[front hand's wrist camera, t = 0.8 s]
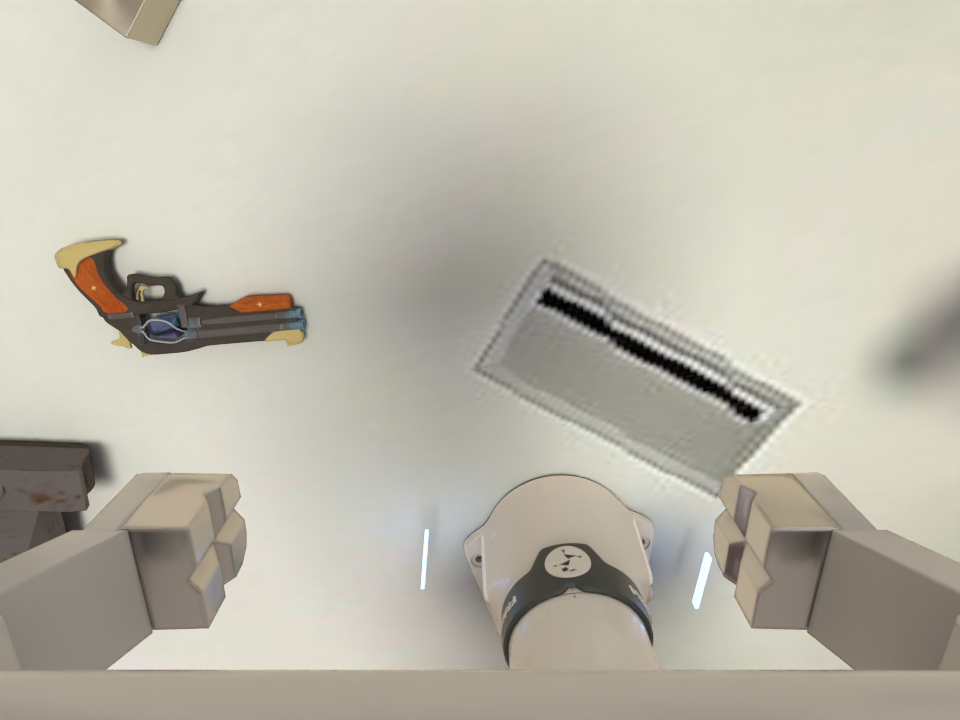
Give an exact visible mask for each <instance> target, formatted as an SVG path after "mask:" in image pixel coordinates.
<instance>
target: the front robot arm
mask: <svg viewBox="0 0 960 720" xmlns="http://www.w3.org/2000/svg"><path fill="white" fill-rule="evenodd" d="M240 497H241V495H240V491H239V486H238V481H237V479H236V478H235V477H234V476H233V475H232V474H200V473H173V474H172V473H142V474H137V475H136V476H135V477H134V478H133V479H132V480H131V481H130V482H129V483H128V484H127V485H126V486H125V487H124V488H123V489H122V490H121V491H120V492H119V493H118V494H117V495H116V496H115V497H114V498H113V499H112V500H111V501H110V502H109V503H108V505H107V506H106V507H105V508H104V509H103V510H102V511H101V512H100V513H99V514H98V515H97V516H96V517H95V518H94V519H93V520H92V521H91V522H90V523H89V524H88V525H87V526H86V527H85V528H84V529H83V530H72V531H70V532H68V533H65V534H63V535H61V536H59V537H56V538H54V539H52V540H50V541H48V542H45V543H43V544H41V545H39V546H37V547H34V548H32V549H30V550H28V551H26V552H23V553H21V554H19V555H17V556H15V557H12V558H10V559H8V560H6V561H4V562H1V563H0V720H960V563H958V562H956V561H954V560H952V559H950V558H947V557H945V556H943V555H941V554H939V553H936V552H934V551H932V550H930V549H928V548H925V547H923V546H921V545H919V544H917V543H914V542H912V541H910V540H908V539H906V538H903V537H901V536H899V535H897V534H895V533H892V532H890V531H888V530H877V529H876V528H875V527H874V526H873V525H872V524H871V523H870V522H869V521H868V520H867V519H866V518H865V517H864V516H863V515H862V514H861V513H860V512H859V511H858V510H857V509H856V508H855V506H854V505H853V504H852V503H851V502H850V501H849V500H848V499H847V498H846V497H845V496H844V495H843V494H842V493H841V492H840V491H839V490H838V489H837V488H836V487H835V486H834V485H833V484H832V483H831V482H830V481H829V480H828V479H827V477H826V476H825V475H822V474H820V473H817V472H812V473H786V474H748V475H725V478H724V480H723V482H722V484H721V490H720V495H719V497H720V499H721V501H722V502H723V504H724V506H725V507H726V509H725V510H724V511H723V512H722V513H721V514H720V516H719V517H718V518H717V519H716V520H715V527H714V535H713V540H714V551H715V556H716V560H717V563H718V566H719V568H720V570H721V572H722V574H723V576H724V577H725V578H727V579H728V580H730V581H731V582H733V583H734V584H736V591H735V596H734V597H735V599H736V601H737V602H738V604H739V606H740V608H741V610H742V612H743V614H744V615H745V617H746V619H747V621H748V623H749V625H750V627H751V628H761V629H798V630H808V631H807V632H808V633H809V634H810V635H811V636H813V637H814V638H815V639H816V640H818V641H819V642H820V643H821V644H823V645H824V646H825V647H826V648H828V649H829V650H830V651H831V652H833V653H834V654H835V655H836V656H838V657H839V658H840V659H841V660H843V661H844V662H845V663H847V664H848V665H849V666H850V667H852V668H853V669H854V670H661V669H660V667H659V664H658V661H657V659H656V656H655V653H654V651H653V632H652V628H651V624H652V618H651V611H650V608H649V606H648V605H646V603H649V602H652V601H653V590H652V588H651V587H649V585H651V584H652V583H653V577H652V573H651V569H650V566H649V560H650V555H651V550H652V545H653V540H654V535H655V531H654V527H653V523H652V522H651V521H650V520H649V519H648V518H646V517H644V516H642V515H640V514H638V513H636V512H633V511H631V510H629V509H628V508H626V507H625V506H624V505H623V504H622V503H621V502H620V501H619V500H618V498H617V497H616V496H615V495H614V494H613V493H611V492H610V491H609V490H607V489H606V488H605V487H603V486H601V485H599V484H597V483H595V482H593V481H590V480H588V479H584V478H580V477H575V476H564V475H558V476H548V477H543V478H539V479H535V480H532V481H529V482H527V483H525V484H523V485H521V486H519V487H517V488H516V489H514V490H513V491H511V492H510V493H509V494H507V495H506V496H505V497H504V498H503V499H502V500H501V501H500V502H499V503H498V505H497V506H496V507H495V509H494V510H493V512H492V514H491V516H490V517H489V519H488V520H487V522H486V523H485V524H484V526H482V527H481V528H479V529H478V530H476V531H475V532H474V533H472V534H471V535H470V536H469V537H468V538H467V539H466V540H465V542H464V552H465V556H466V558H467V561H468V563H469V565H470V568H471V570H472V572H473V575H474V577H475V580H476V582H477V584H478V587H479V589H480V592H481V594H482V596H483V599H484V601H485V604H486V606H487V608H488V611H489V613H490V615H491V618H492V620H493V623H494V625H495V627H496V630H497V632H498V635H499V637H500V639H501V642H502V647H503V650H504V656H505V660H506V663H507V665H508V667H509V669H510V670H106V669H107V668H109V667H110V666H111V665H112V664H114V663H115V662H116V661H117V660H119V659H120V658H121V657H123V656H124V655H125V654H126V653H128V652H129V651H130V650H131V649H133V648H134V647H135V646H136V645H138V644H139V643H140V642H141V641H143V640H144V639H145V638H146V637H148V636H149V635H150V634H151V633H152V632H153V631H152V630H162V629H197V628H209V627H210V625H211V623H212V621H213V619H214V617H215V615H216V614H217V612H218V610H219V608H220V606H221V604H222V602H223V601H224V599H225V597H226V596H225V591H224V584H226V583H227V582H229V581H230V580H232V579H233V578H235V577H236V576H237V574H238V572H239V570H240V568H241V566H242V564H243V559H244V555H245V550H246V526H245V520H244V519H243V518H242V517H241V516H240V514H239V513H238V512H237V511H236V510H235V509H234V507H235V506H236V504H237V502H238V501H239V499H240ZM428 532H429V530H425V537H424V551H423V566H422V580H421V589H424V586H425V574H426V560H427V546H428ZM641 539H643V540H641ZM477 556H482V558H477ZM711 560H712V559H711V557H710V555H709V553H705V556H704V559H703V563H702V567H701V571H700V574H699V578H698V582H697V586H696V589H695V593H694V597H693V601H692V602H693V605H694V607H695V608H696V609H698V608H699V604H700V601H701V597H702V593H703V590H704V586H705V582H706V578H707V575H708V571H709V567H710V564H711Z"/></svg>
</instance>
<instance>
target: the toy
mask: <svg viewBox="0 0 960 720" xmlns="http://www.w3.org/2000/svg"><path fill="white" fill-rule="evenodd" d="M89 451H90V449H88V446H87V445H85V444H75V443H46V442H17V441H0V563H1V562H4V561H6V560H8V559H10V558H12V557H15V556H17V555H19V554H21V553H23V552H26V551H28V550H30V549H32V548H34V547H37V546H39V545H41V544H43V543H45V542H48V541H50V540H52V539H54V538H56V537H59V536H61V535H63V534H65V533H66V530H65V526H64V521H63V517H62V513H61V512H74V511H83V510H87V509H88V507H89V501H88V496H87V494H88V493H89V492H90V491H91V490H92V489H93V488H94V485H95V479H94V474H93V470H92V465H91V460H90V455H89Z"/></svg>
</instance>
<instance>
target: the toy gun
mask: <svg viewBox="0 0 960 720" xmlns="http://www.w3.org/2000/svg"><path fill="white" fill-rule="evenodd" d="M121 245H122V243H121V241H120V240H103V241H93V242H85V243H78V244H74V245H70V246H67V247H64V248H62V249H60V250H59V251H58V252H57V253H56V254H55V260H56V263H57V265H58V267H59V268H63V269H64V271H65V272H66V274H67V275H68V277H69V278H70V280H71V281H72V283H73V284H74V285H75V286H76V288H77V289H78V290H79V291H80V292H81V293H82V294H83V295H84V296H85V297H86V298H87V299H88V300H89V301H90V302H91V303H92V304H93V305H94V306H95V308H96V309H97V311H98V313H99V315H100V316H101V317H103V318H104V320H105V321H106V322H107V323H108V324H110V325H111V326H113V327H115V328H116V329H118V330H119V331H120V332H119V335H120V338H119V339H118V340H115V341H112V342H111V343H112V344H113V345H117V346H125V347H127V348H132V345H131V343H132V344H134V345H135V346H136V347H137V348H138V349H139V350H140V351H141V353H142V357H144V356H148V355H152V354H167V353H179V352H186V351H190V350H194V349H198V348H201V347H205V346H208V345H218V344H230V343H241V342H253V341H274V340H286V341H287V346H291V345H295V344H299V343H302V342H303V340H304V339H305V336H304V332H303V330H305V321H304V319H302V317H303V313H302V309H301V308H298V307H293V305H292V298H291V296H290V295H289V294H281V295H259V296H247V297H245V298H243V299H241V300H239V301H237V302H235V303H233V304H231V305H226V306H202V305H198V304H196V303H197V302H198V301H199V300H200V299H201V297H202V295H203V293H204V291H201V292H199V293H196V294H194V295H192V296H188V297H182V296H181V295H180V294H179V290H178V286H177V284H176V282H175V281H174V280H173V279H171V278H169V277H162V278H153V277H146V276H141V275H137V274H130V275H128V276H127V290H126V292H124V291H123V290H122V289H121V287H120V286H119V285H118V283H117V282H116V280H115V279H114V277H113V276H112V274H111V271H110V254H111V252H112V250H113V249H115V248H117V247H119V246H121ZM136 283H142V284H147V285H162V286H163V287H164V289H165V294H164V296H163V298H162V300H152V301H145V300H144V293H143V292H144V290H145V289H147V288H149V287H148V286H146V285H140V287H139V289H138V291H137V295H136V298H135V293H134V287H135V284H136ZM140 291H141V300H139V292H140ZM173 310H178V312H179V313H177V314H171V313H163V314H159V315H157V316H155V317H153V318H152V319H150V320H148V321H147V322H146V318H145V314H150V313H161V312H168V311H173ZM162 315H167V316H163V317H159V316H162ZM157 317H159V318H157ZM148 322H149V323H148ZM147 323H148V324H147ZM185 330H186V331H185ZM149 333H151V334H153V335H155V336H157V337H159V338H161V339H163V340H164V339H172V338H178V337H179V336H181V335H182V334H184V333H186V334H185V337H183V338H181V339H180V340H177V341H169V342H167V341H159V340H153V339H150V337H149ZM185 338H186V339H185ZM183 339H185V340H183Z"/></svg>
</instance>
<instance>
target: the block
mask: <svg viewBox="0 0 960 720" xmlns="http://www.w3.org/2000/svg"><path fill="white" fill-rule="evenodd" d="M75 1H77V2H78V3H79V4H81V5H82V6H83V7H85V8H86V9H88V10H89V11H90V12H92V13H93V14H94V15H96V16H97V17H98V18H100V19H101V20H103V21H104V22H105V23H107V24H108V25H109V26H111V27H112V28H114V29H115V30H116V31H118V32H119V33H120V34H122V35H123V36H124V37H126V38H129V39H133V40H138V41H142V42H146V43H150V44H155V45H158V43H159V41H160V39H161V37H162V35H163V33H164V31H165V29H166V27H167V25H168V23H169V21H170V20H171V18H172V16H173V14H174V12H175V10H176V8H177V6H178V4H179V2H180V0H75Z"/></svg>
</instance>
